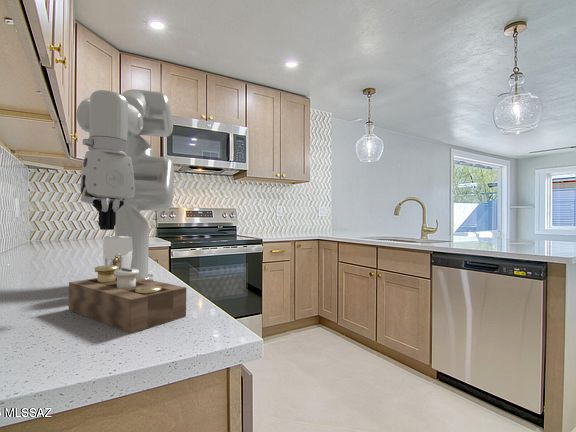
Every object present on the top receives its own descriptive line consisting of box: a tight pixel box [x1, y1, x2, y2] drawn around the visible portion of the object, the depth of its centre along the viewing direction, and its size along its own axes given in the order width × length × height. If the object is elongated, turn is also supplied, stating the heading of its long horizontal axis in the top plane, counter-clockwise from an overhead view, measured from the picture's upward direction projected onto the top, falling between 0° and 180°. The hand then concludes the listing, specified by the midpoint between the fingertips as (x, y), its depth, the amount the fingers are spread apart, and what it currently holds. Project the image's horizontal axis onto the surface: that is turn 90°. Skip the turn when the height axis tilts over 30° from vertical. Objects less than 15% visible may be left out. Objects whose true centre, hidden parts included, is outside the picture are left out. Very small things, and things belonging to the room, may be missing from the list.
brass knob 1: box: [94, 265, 119, 284], centre depth 73 cm, size 5×5×6 cm
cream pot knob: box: [114, 268, 139, 289], centre depth 69 cm, size 5×5×6 cm
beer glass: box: [102, 235, 133, 270], centre depth 85 cm, size 7×7×15 cm
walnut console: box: [68, 276, 187, 334], centre depth 69 cm, size 24×12×6 cm, turn 57°
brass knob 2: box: [135, 286, 162, 295], centre depth 64 cm, size 5×5×6 cm
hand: (107, 229), depth 73 cm, fingers closed
